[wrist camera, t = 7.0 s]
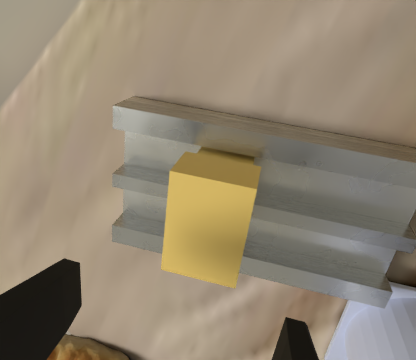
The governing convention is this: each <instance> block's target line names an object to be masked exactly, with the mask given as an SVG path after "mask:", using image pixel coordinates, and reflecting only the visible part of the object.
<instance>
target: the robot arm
mask: <svg viewBox="0 0 416 360" xmlns="http://www.w3.org/2000/svg"><path fill="white" fill-rule="evenodd" d="M388 282H389V281H388ZM389 284H390V287H391V289H392V292H393V293H392V295H391V297H390V299H389V301H388V303H387V305H386V307H385V309H384V308H380V307H376V306H371V305H367V304H363V303H359V302H355V301H351V300H348V302H347V304H346V307H345V309H344V311H343V314H342V316H341V319H340V321H339V323H338V326H337V328H336V330H335V333H334V335H333V337H332V340H331V342H330V344H329V347H328V349H327V352H326V354H325V357H324V359H325V360H416V288H414V287H410V286H406V285H401V284H397V283H393V282H389ZM81 306H82V303H81V280H80V263H79V262H75V261H71V260H67V259H62V260H61V261H59V262H57V263H55V264H53V265H52V266H50V267H48V268H47V269H45V270H43V271H41V272H40V273H38V274H36V275H35V276H33V277H31V278H29V279H28V280H26V281H24V282H22V283H21V284H19V285H17V286H15V287H13V288H12V289H10V290H8V291H6V292H5V293H3V294H1V295H0V360H47V358H48V357H49V356H50V354H51V353H52V352H53V350H54V349H55V347H56V346H57V345H58V343H59V342H60V341H61V339H62V338H63V336H64V335H65V334H66V332H67V330H68V329H69V327H70V325H71V324H72V322H73V320H74V318H75V317H76V315H77V313H78V311H79V309H80V308H81ZM272 360H319V359H318V356H317V353H316V350H315V348H314V345H313V342H312V339H311V336H310V333H309V330H308V326H307V325H306V323H305V322H302V321H298V320H295V319H291V318H287V317H286V318H285V321H284V324H283V327H282V330H281V333H280V336H279V339H278V342H277V345H276V348H275V351H274V354H273V357H272Z"/></svg>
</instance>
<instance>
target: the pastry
mask: <svg viewBox="0 0 416 360" xmlns="http://www.w3.org/2000/svg"><path fill="white" fill-rule="evenodd" d="M47 360H129V358H128V357H127V356H126V355H125V354H123V353H122V352H120V351H117V350H113V349H110V348H108V347H107V346H105V345H102V344H100V343H98V342H97V341H95V340H93V339H90V338H87V339H84V338H81V337H75V336H73V335H72V334H71V335H67V334H65V335H64V336H63V338H62V339H61V341H60V342H59V343H58V345H57V346H56V347H55V349H54V350H53V352H52V353H51V354H50V356H49V357H48V358H47Z"/></svg>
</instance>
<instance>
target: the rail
mask: <svg viewBox="0 0 416 360" xmlns="http://www.w3.org/2000/svg"><path fill="white" fill-rule="evenodd" d="M113 129H118V130H123V131H125V153H124V164H123V165H122V166H121V167H120V168H119V169H118V170H116V171H115V172H114V173H113V182H112V187H117V188H121V189H124V198H123V213H122V215H121V216H120V217H119V218H118V219H117V220H116V221H115V223H114V224H113V225H112V242H117V243H121V244H125V245H129V246H133V247H137V248H141V249H145V250H149V251H153V252H157V253H161V254H162V253H163V241H164V230H165V219H166V207H167V196H168V185H169V174H170V170H171V169H172V167H173V166H174V165H175V164H176V162H177V161H178V160H179V159H180V157H181V156H182V155H183V154H184V153H185V151H187V152H192V153H196V154H197V152H198V151H199V150H200V148H201V147H202V146H203V147H208V148H213V149H218V150H223V151H228V152H233V153H238V154H243V155H248V156H253V157H255V159H254V164H253V165H256V166H260V167H261V171H260V176H259V182H258V187H257V192H256V197H255V201H254V206H253V210H252V215H251V220H250V224H249V229H248V233H247V238H246V242H245V247H244V251H243V256H242V260H241V265H240V269H239V273H242V274H246V275H250V276H254V277H258V278H262V279H266V280H270V281H274V282H278V283H282V284H286V285H291V286H295V287H299V288H303V289H307V290H311V291H315V292H319V293H323V294H327V295H331V296H335V297H339V298H343V299H347V300H351V301H355V302H359V303H363V304H367V305H371V306H376V307H380V308H384V309H385V307H386V305H387V303H388V301H389V299H390V297H391V295H392V293H393V292H392V289H391V287H390V284H389V282H388V279H387V277H386V272H387V270H388V267H389V265H390V263H391V261H392V259H393V257H394V255H395V252H396V250H398V251H403V252H407V253H413V251H414V249H415V247H416V236H415V234H414V232H413V231H412V229H411V227H410V226H409V223H410V220H411V218H412V216H413V214H414V212H415V210H416V148H411V147H406V146H401V145H395V144H390V143H384V142H379V141H373V140H368V139H362V138H357V137H352V136H346V135H341V134H335V133H330V132H324V131H319V130H314V129H308V128H303V127H297V126H292V125H286V124H281V123H276V122H270V121H265V120H259V119H254V118H248V117H243V116H237V115H232V114H227V113H221V112H216V111H210V110H205V109H199V108H194V107H189V106H183V105H178V104H172V103H167V102H161V101H156V100H151V99H145V98H140V97H134V96H133V97H131V98H128V99H126V100H124V101H122V102H120V103H117V104H115V105H113Z"/></svg>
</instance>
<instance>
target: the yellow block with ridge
mask: <svg viewBox="0 0 416 360" xmlns="http://www.w3.org/2000/svg"><path fill="white" fill-rule="evenodd" d="M254 159H255V157H253V156H248V155H243V154H238V153H233V152H228V151H223V150H218V149H213V148H208V147H203V146H202V147H201V148H200V150H199V151H198V152H197V154H196V153H192V152H187V151H185V153H184V154H183V155H182V156H181V157H180V159H179V160H178V161H177V162H176V164H175V165H174V166H173V167H172V169H171V170H170V174H169V185H168V196H167V207H166V219H165V230H164V241H163V253H162V264H161V270H165V271H169V272H173V273H177V274H180V275H184V276H188V277H192V278H196V279H200V280H204V281H208V282H212V283H216V284H220V285H224V286H228V287H232V288H236V283H237V279H238V274H239V269H240V265H241V260H242V256H243V251H244V247H245V242H246V238H247V233H248V229H249V224H250V220H251V215H252V210H253V206H254V201H255V197H256V192H257V187H258V182H259V176H260V171H261V167H260V166H256V165H253V164H254Z"/></svg>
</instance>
